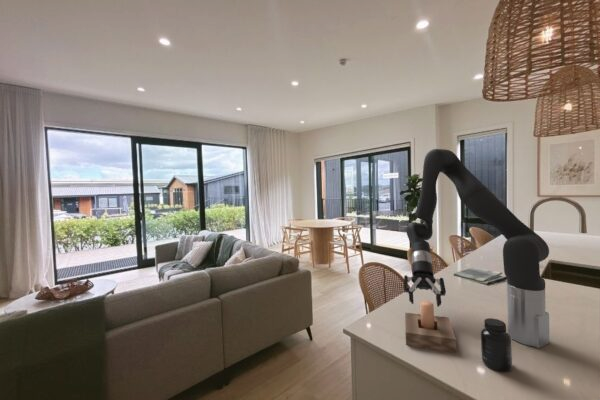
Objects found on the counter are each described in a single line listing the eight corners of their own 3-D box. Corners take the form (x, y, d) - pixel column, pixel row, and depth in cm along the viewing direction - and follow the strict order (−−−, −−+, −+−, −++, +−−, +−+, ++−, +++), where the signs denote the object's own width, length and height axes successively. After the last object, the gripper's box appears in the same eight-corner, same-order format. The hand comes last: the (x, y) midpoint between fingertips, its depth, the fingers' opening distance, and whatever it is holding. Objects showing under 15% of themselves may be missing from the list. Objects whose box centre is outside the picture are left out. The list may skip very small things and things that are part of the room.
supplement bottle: (498, 355, 77) (497, 315, 76) (518, 372, 70) (518, 327, 70) (475, 357, 77) (474, 317, 76) (493, 373, 70) (492, 329, 69)
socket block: (448, 328, 92) (448, 317, 92) (456, 352, 79) (455, 339, 79) (405, 323, 98) (405, 312, 97) (406, 344, 84) (405, 332, 84)
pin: (437, 334, 87) (436, 304, 87) (428, 337, 86) (427, 307, 86) (427, 328, 91) (426, 300, 91) (418, 332, 90) (417, 302, 89)
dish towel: (452, 276, 145) (452, 270, 145) (472, 270, 153) (472, 265, 153) (488, 286, 128) (488, 280, 128) (509, 279, 136) (509, 273, 136)
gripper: (402, 258, 106) (404, 298, 96) (442, 260, 101) (448, 302, 91) (403, 267, 111) (404, 306, 101) (441, 270, 106) (446, 310, 96)
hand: (425, 304), depth 96 cm, fingers open, 8 cm apart
